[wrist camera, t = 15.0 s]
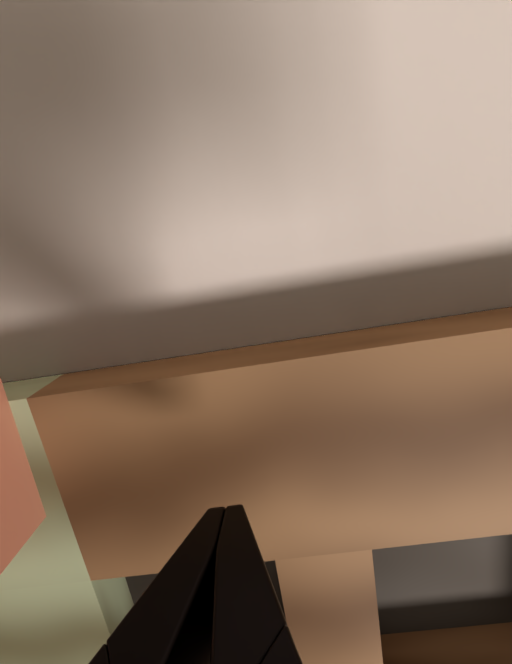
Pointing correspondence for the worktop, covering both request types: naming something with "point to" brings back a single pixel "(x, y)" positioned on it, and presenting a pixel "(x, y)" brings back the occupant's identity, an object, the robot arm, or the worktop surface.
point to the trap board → (282, 490)
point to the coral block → (15, 489)
